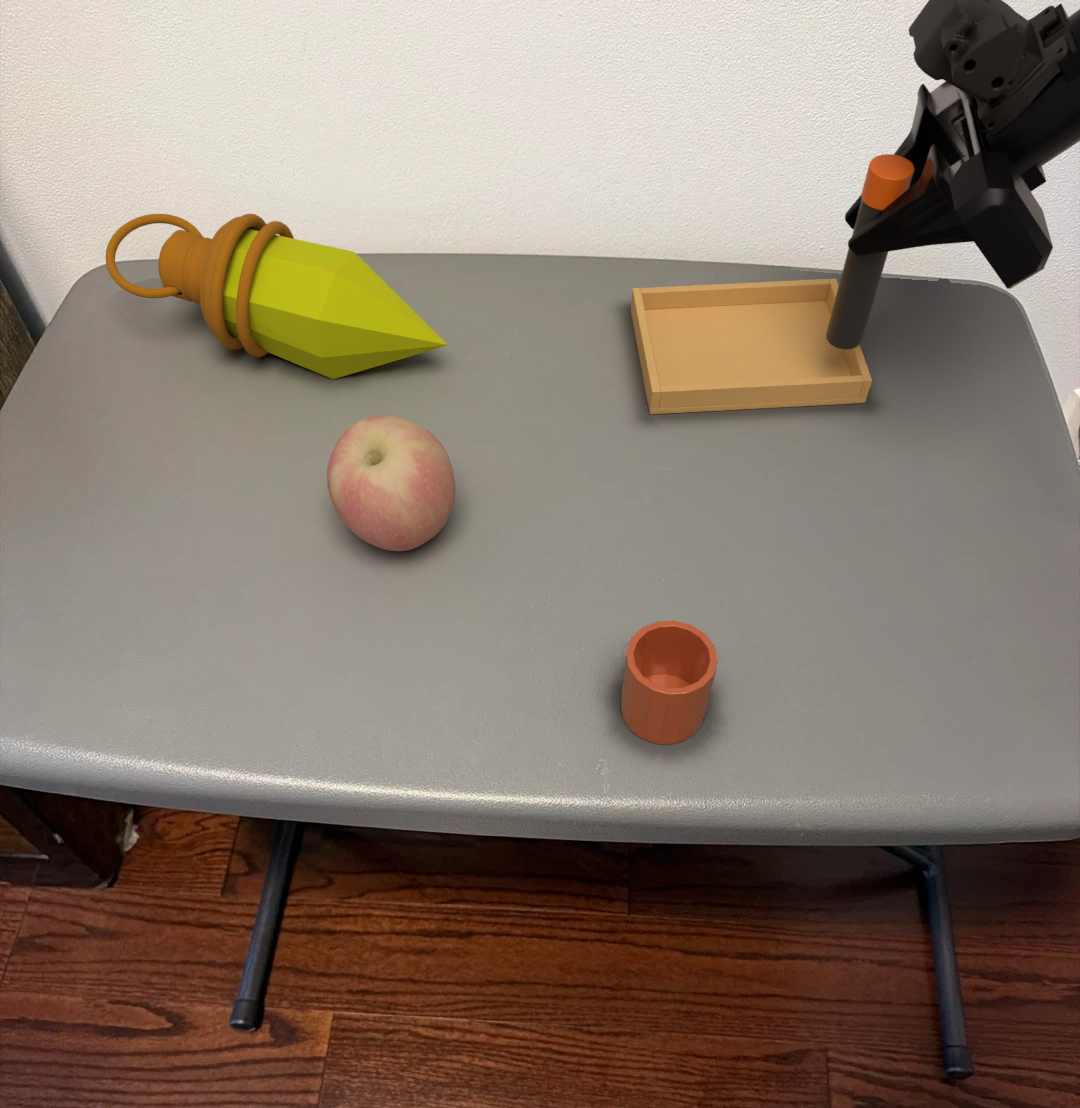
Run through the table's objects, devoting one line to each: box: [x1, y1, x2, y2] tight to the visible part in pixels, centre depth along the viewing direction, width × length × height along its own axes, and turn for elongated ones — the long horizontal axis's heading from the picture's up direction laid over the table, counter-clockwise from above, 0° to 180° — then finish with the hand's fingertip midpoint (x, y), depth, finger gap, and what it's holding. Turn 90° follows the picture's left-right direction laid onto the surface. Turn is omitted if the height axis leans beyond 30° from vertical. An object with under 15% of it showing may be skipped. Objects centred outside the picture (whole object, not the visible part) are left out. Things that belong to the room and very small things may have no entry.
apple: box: [326, 414, 456, 552], centre depth 66 cm, size 8×8×8 cm
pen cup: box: [620, 620, 718, 745], centre depth 60 cm, size 5×5×5 cm
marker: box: [826, 153, 914, 349], centre depth 68 cm, size 3×3×12 cm
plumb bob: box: [105, 213, 449, 380], centre depth 75 cm, size 9×9×25 cm
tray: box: [630, 278, 873, 415], centre depth 77 cm, size 15×11×2 cm
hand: (849, 236), depth 67 cm, fingers closed on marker, 2 cm apart
